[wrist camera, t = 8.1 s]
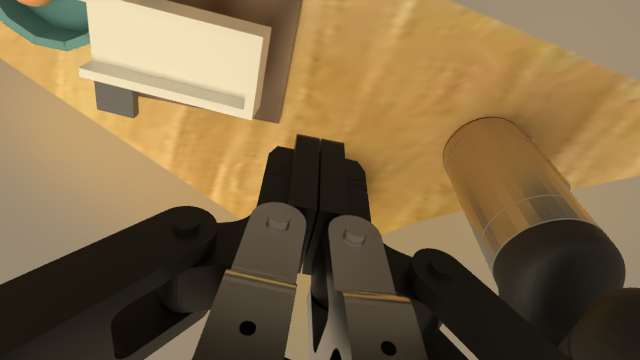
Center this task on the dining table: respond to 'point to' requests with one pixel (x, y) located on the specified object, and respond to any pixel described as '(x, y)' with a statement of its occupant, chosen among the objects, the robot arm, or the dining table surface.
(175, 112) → the dining table surface
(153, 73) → the cream shallow tray
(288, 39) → the stand
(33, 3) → the ball
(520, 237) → the robot arm
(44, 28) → the teal round bowl
